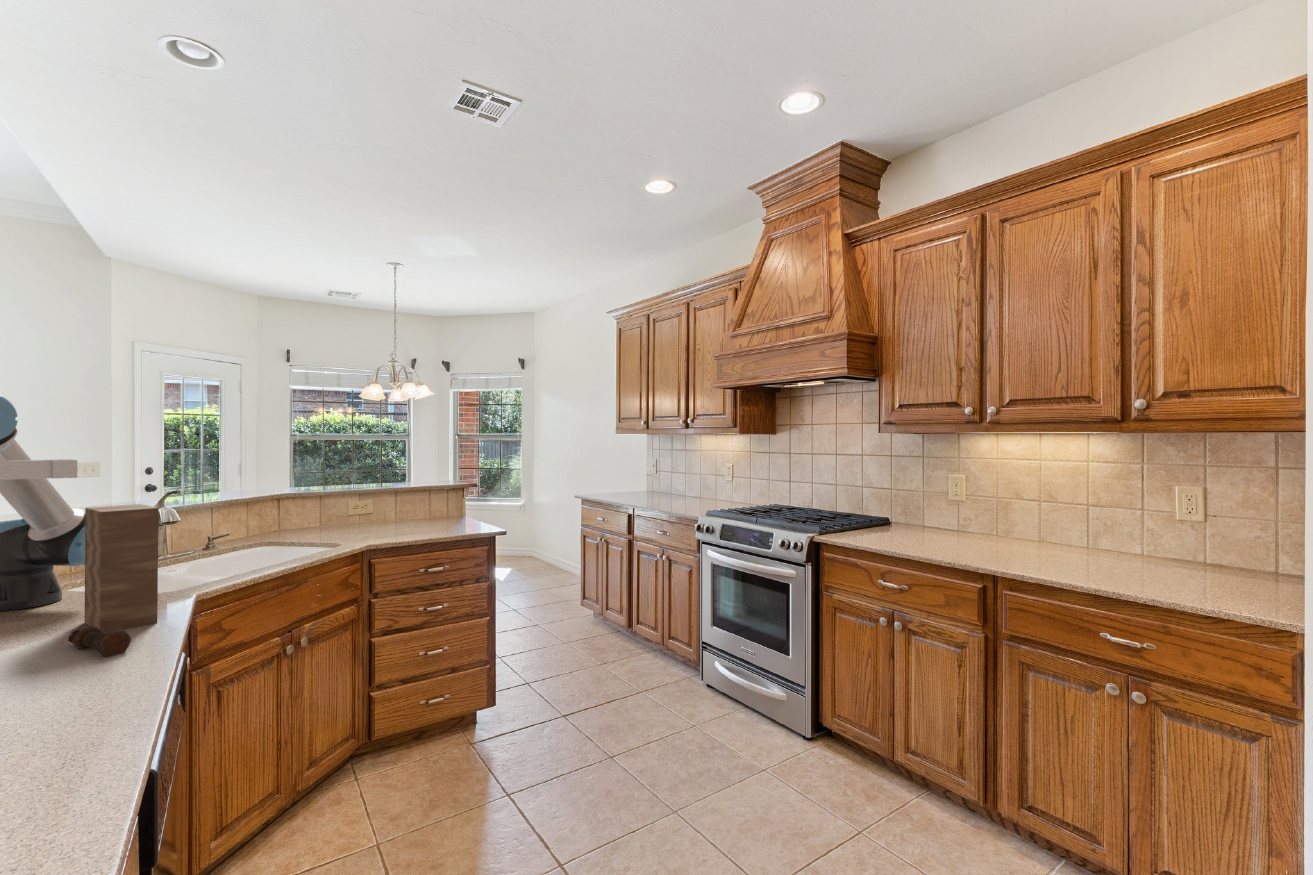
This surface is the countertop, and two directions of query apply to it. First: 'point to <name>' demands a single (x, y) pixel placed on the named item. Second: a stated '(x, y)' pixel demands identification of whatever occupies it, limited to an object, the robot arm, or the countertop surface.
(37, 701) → the countertop surface
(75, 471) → the steel block
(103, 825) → the countertop surface
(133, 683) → the countertop surface
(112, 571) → the wooden block
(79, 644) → the bolt
